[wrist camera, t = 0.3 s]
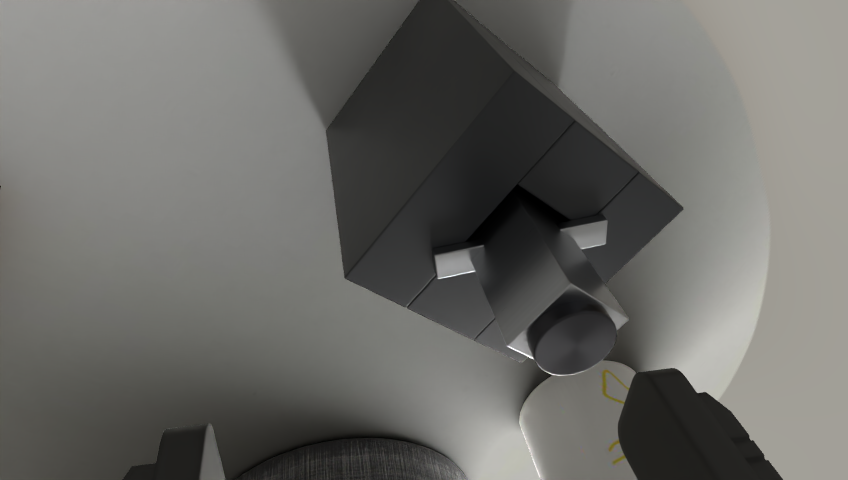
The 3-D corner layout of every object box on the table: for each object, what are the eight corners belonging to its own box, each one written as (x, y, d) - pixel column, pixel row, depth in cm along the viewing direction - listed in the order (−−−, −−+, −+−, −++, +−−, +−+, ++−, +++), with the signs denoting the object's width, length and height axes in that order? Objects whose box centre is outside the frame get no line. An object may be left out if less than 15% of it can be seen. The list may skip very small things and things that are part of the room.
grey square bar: (388, 162, 30) (452, 373, 19) (459, 71, 28) (581, 243, 17) (470, 213, 33) (571, 425, 21) (541, 133, 31) (695, 319, 19)
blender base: (325, 131, 34) (343, 278, 23) (431, -18, 31) (515, 70, 20) (454, 209, 39) (521, 363, 28) (558, 88, 36) (684, 208, 24)
